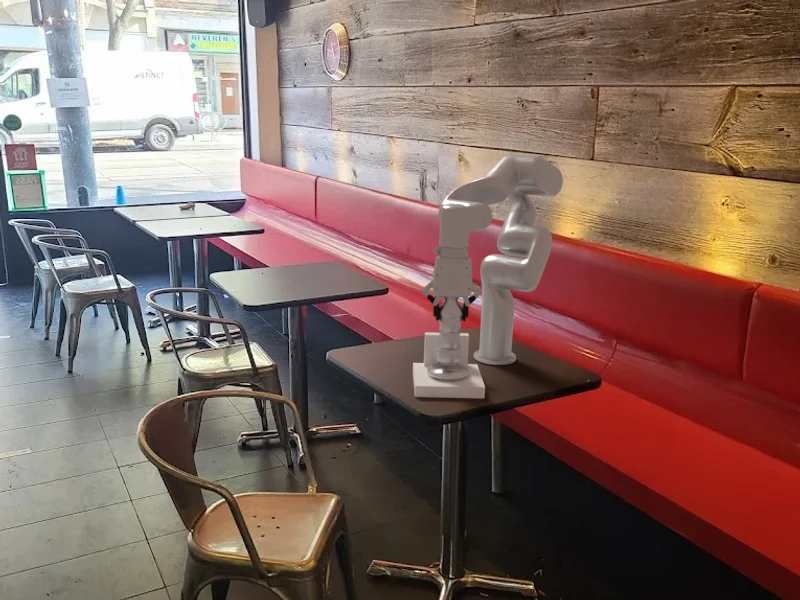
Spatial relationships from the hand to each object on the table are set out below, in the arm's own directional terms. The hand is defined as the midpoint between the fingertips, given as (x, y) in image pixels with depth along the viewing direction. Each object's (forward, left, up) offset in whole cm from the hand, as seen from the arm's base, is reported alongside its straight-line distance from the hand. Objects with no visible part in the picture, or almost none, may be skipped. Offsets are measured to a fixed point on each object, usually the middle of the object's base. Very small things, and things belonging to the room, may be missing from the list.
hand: (450, 318), depth 197 cm
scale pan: (0, 0, -15) cm, 15 cm away
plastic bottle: (0, 0, -13) cm, 13 cm away
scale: (0, 0, -19) cm, 19 cm away
